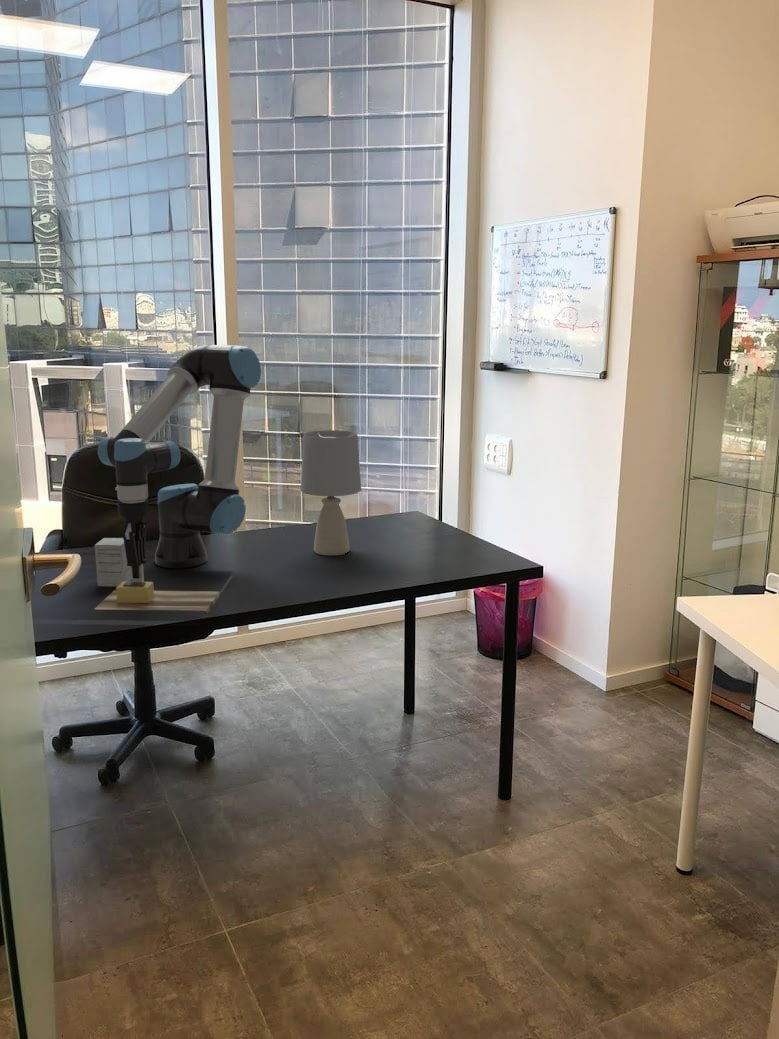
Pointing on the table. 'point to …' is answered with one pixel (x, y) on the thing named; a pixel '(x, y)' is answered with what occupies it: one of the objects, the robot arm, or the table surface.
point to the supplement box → (111, 562)
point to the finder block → (135, 592)
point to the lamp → (330, 483)
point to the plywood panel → (166, 601)
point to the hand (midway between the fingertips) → (138, 589)
